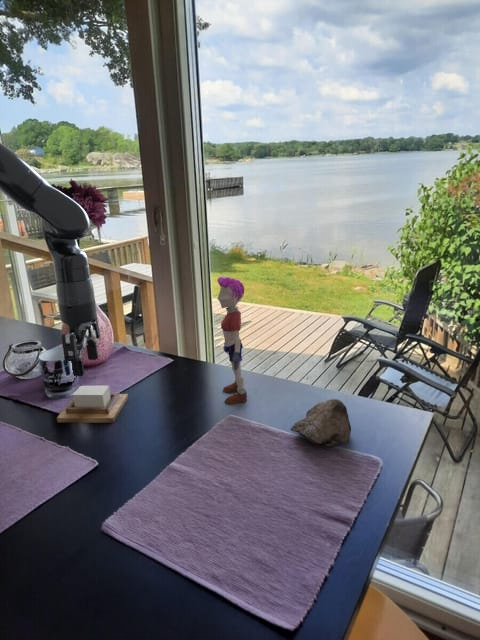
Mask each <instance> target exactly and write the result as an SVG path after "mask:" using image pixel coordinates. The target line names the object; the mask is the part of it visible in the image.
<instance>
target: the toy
mask: <svg viewBox="0 0 480 640" xmlns="http://www.w3.org/2000/svg"><path fill="white" fill-rule="evenodd" d="M217 283H218V285H219V286H220V289H219V292H218V296H217V301H219V304H220V307H221V309H225V310H226V314H225V316H224V317H223V319H222V320H221V322H220V328H221V330H222V334H223V338H224V343H223V348H222V350H223V351H224V353H226V354H227V356H229V357H228V358H229V362H230V364H231V370H232V371H233V373H234V382H233V383H231V384H228V385H226V386H224V387H223V389H222V391H223V392H224V393H226V394H229V393H233V392H234V394H232V395H229V396H227V397H226V398H225V400H224V402H225V404H227V405H228V404H229V405H235V404H240V403H246V402H247V401H248V399H247V398H248V395H247V390H246V387H245V383H244V381H245V380H244V376H243V375H242V368H241V362H242V361H243V355H242V351H243V348H244V345H243V343H242V339H241V338H240V331H241V328H242V313H241V311H240V310H239V308H240V307H239V306H237V305H238V304H239V303H240V302H241V300H242V298H243V297H244V295H245V286H244V284H243V282H242V281H241V280H240V279H237V278H234V277H233V278H232V277H230V276H219V277H218V278H217ZM235 392H236V393H235Z"/></svg>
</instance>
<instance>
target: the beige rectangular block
mask: <svg viewBox="0 0 480 640" xmlns="http://www.w3.org/2000/svg"><path fill="white" fill-rule="evenodd" d="M110 393H111V390H110V385H80V386H79V387H78V388H77V389H76V390H75V391H74V392H73V394H72V399H74V405H75V407H89V408H106V407H107V405H108V404H109V402H110V401H111V396H110Z"/></svg>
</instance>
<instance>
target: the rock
mask: <svg viewBox="0 0 480 640" xmlns="http://www.w3.org/2000/svg"><path fill="white" fill-rule="evenodd" d="M290 431H292V432H295V433H298V434H299V435H301V436H303V437H305V438H306V440H308V441H309V442H311V443H314V444H317V445H320V444H322V445H323V446H325V447H327V448H331V447H333V446H338V445H342V444H343V445H346V444H348V443H349V441H350V437H351V433H352V426H351V422H350V418H349V413H348V409H347V406H346V405H345V403H344V402H342V401H341V400H340V399H338V398H337V399H334V398H333V399H328V400H326V401H325V402H318V403H316V404H315V405H313V406H312V407H311V408H310V409H308V410H307V412H306V414H305V418H302V419H300V420H298V421H296V422H295V423H294V424H293V425H292V426H291V427H290Z"/></svg>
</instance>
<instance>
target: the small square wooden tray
mask: <svg viewBox="0 0 480 640" xmlns="http://www.w3.org/2000/svg"><path fill="white" fill-rule="evenodd" d="M110 396H111V401H110V402H109V404H108V405H107V407H106V408H89V407H75V405H74V399H73V398H71V400H70V401H69V402H68V403H67V404H66V406H65V407H64V408H63V409H62V411H60V413H59V414H58V416H57V417H56V422H57V423H90V424H91V423H92V424H93V423H97V424H99V423H100V424H101V423H102V424H103V423H104V424H105V423H107V424H108V423H109V424H110V423H111V424H114V422H115V421H116V419H117V417H118V416H119V414H120V412H121V411H122V409H123V408H124V406H125V404H126V402H127V401H128V399H129V395H128V393H119V392H110Z"/></svg>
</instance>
